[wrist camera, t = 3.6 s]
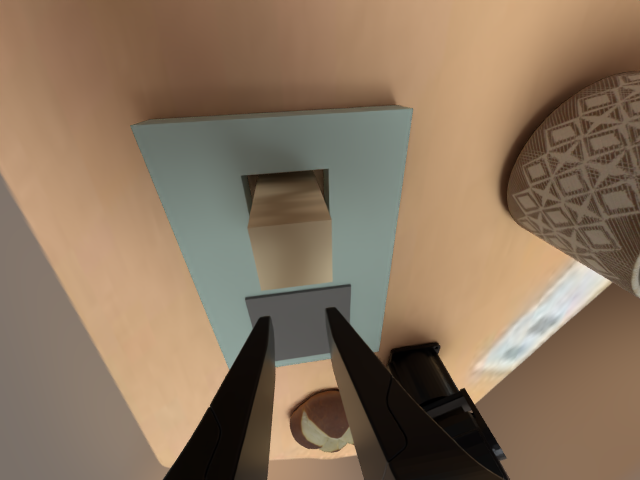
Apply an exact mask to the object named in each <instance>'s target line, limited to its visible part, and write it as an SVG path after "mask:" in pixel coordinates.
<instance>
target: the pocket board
mask: <svg viewBox="0 0 640 480" xmlns="http://www.w3.org/2000/svg"><path fill="white" fill-rule="evenodd" d="M412 113H413V108H408V107H403V106H399V105H390V106H373V107H356V108H338V109H321V110H304V111H287V112H270V113H252V114H235V115H218V116H201V117H184V118H166V119H150V120H146V121H143V122H140V123H137V124H134V125H130V126H131V129H132V131H133V134H134V136H135V139H136V141H137V144H138V146H139V149H140V151H141V153H142V156H143V158H144V161H145V163H146V166H147V168H148V171H149V173H150V176H151V178H152V181H153V183H154V185H155V188H156V190H157V193H158V195H159V198H160V200H161V203H162V205H163V208H164V210H165V213H166V215H167V217H168V220H169V222H170V225H171V227H172V230H173V232H174V235H175V237H176V240H177V242H178V245H179V247H180V250H181V252H182V254H183V257H184V259H185V262H186V264H187V267H188V269H189V272H190V274H191V277H192V279H193V282H194V284H195V286H196V289H197V291H198V294H199V296H200V299H201V301H202V304H203V306H204V309H205V311H206V314H207V316H208V319H209V321H210V323H211V326H212V328H213V331H214V333H215V336H216V338H217V341H218V343H219V346H220V348H221V351H222V353H223V355H224V358H225V360H226V363H227V365H228V368H229V370H230V368H231V366H232V365H233V363H234V361H235V359H236V358H237V356H238V354H239V352H240V350H241V349H242V347H243V345H244V343H245V342H246V340H247V338H248V336H249V334H250V333H251V331H252V329H253V327H254V326H255V324H256V322H257V320H258V319H259V317H261V316H268V315H269V316H271V319H272V324H273V329H274V342H275V367H280V366H286V365H293V364H300V363H306V362H313V361H319V360H326V359H331V355H330V349H329V343H328V337H327V330H326V322H325V308H327V307H336V308H337V309H338V310H339V311H340V313H341V314H342V315H343V316H344V317H345V319H346V320H347V321H348V322H349V323H350V325H351V326H352V327H353V328H354V329H355V331H356V332H357V333H358V334H359V335H360V337H361V338H362V339H363V340H364V341H365V343H366V344H367V345H368V346H369V348H370V349H371V350H372V351H373V352H378V351H379V347H380V340H381V333H382V326H383V318H384V311H385V304H386V297H387V290H388V283H389V276H390V269H391V262H392V255H393V248H394V241H395V234H396V226H397V219H398V212H399V205H400V198H401V191H402V184H403V177H404V170H405V163H406V156H407V149H408V141H409V134H410V127H411V120H412ZM316 169H323V173H324V201H325V203H326V206H327V209H328V211H329V214H330V216H331V219H332V272H333V282H328V283H320V284H312V285H304V286H296V287H288V288H280V289H272V290H264V291H261V287H260V283H259V278H258V274H257V269H256V265H255V260H254V256H253V251H252V247H251V242H250V238H249V233H248V229H247V227H248V223H249V218H250V213H251V208H252V198H251V192H250V187H249V182H248V177H247V175H255V174H267V173H279V172H292V171H304V170H316Z"/></svg>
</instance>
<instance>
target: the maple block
mask: <svg viewBox="0 0 640 480" xmlns="http://www.w3.org/2000/svg"><path fill="white" fill-rule="evenodd" d="M247 229H248V233H249V238H250V242H251V247H252V251H253V256H254V260H255V265H256V269H257V274H258V278H259V283H260V287H261V291H264V290H272V289H280V288H288V287H296V286H304V285H312V284H320V283H328V282H333V272H332V219H331V216H330V214H329V211H328V209H327V206H326V203H325V201H324V198H323V196H322V193H321V190H320V188H319V185H318V183H317V180H316V177H315V175H314V172H313V170H307V171H294V172H282V173H270V174H258V179H257V183H256V188H255V193H254V198H253V203H252V208H251V213H250V218H249V223H248V227H247Z"/></svg>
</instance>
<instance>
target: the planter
mask: <svg viewBox="0 0 640 480" xmlns="http://www.w3.org/2000/svg"><path fill="white" fill-rule="evenodd" d="M507 203H508V208H509V211H510V214H511V215H512V217H513V219H514V220H515V221H516V222H517V223H518V224H519V225H520V226H521V227H522V228H524V229H526V230H527V231H529V232H531V233H532V234H534V235H536V236H537V237H539V238H541V239H542V240H544V241H546V242H547V243H549V244H551V245H552V246H554V247H555V248H557V249H559V250H560V251H562V252H564V253H565V254H567V255H569V256H570V257H572V258H574V259H575V260H577V261H579V262H580V263H582V264H584V265H585V266H587V267H588V268H590V269H592V270H593V271H595V272H597V273H598V274H600V275H602V276H603V277H605V278H607V279H608V280H610V281H612V282H613V283H615V284H617V285H618V286H620V287H622V288H623V289H625V290H626V291H628V292H630V293H631V294H633V295H635V296H636V297H638V298H640V71H632V72H625V73H620V74H616V75H613V76H610V77H607V78H604V79H602V80H599V81H597V82H595V83H593V84H591V85H589V86H587V87H586V88H584V89H582V90H581V91H579V92H578V93H576V94H575V95H573V96H572V97H570V98H569V99H568V100H566V101H565V102H564V103H563V104H561V105H560V106H559V107H558V108H557V109H556V110H554V111H553V112H552V113H551V114H550V115H549V116H548V117H547V118H546V119H545V120H544V121H543V123H542V124H541V125H540V126H539V127H538V128H537V129H536V131H535V132H534V133H533V135H532V136H531V137H530V139H529V140H528V141H527V143H526V144H525V146H524V148H523V149H522V151H521V153H520V154H519V156H518V158H517V160H516V162H515V165H514V167H513V169H512V172H511V175H510V179H509V183H508V189H507Z"/></svg>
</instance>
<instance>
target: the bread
mask: <svg viewBox="0 0 640 480" xmlns="http://www.w3.org/2000/svg"><path fill="white" fill-rule="evenodd" d="M290 429H291V432H292V435H293V437H294V439H295V440H296V441H297V442H298V443H299V444H300V445H302V446H304V447H305V448H308V449H320V450H322V451H324V452H331V453H332V452H337V451H339V450H341V449H342V448H343V447H344V446H345V445H346V444H347V443H349V444H352V445H354V442H353V438H352V434H351V431H350V427H349V424H348V420H347V417H346V413H345V410H344V406H343V403H342V399H341V395H340V392H339V391H336V390H330V391H324V392H320V393H318V394H315V395H313V396H312V397H311V398H309V400H307V401H306V402H304V403H303V404H302V405H300V406H299V408H298V409H297V410H296V411H294V412H293V414H292V415H291V418H290Z"/></svg>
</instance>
